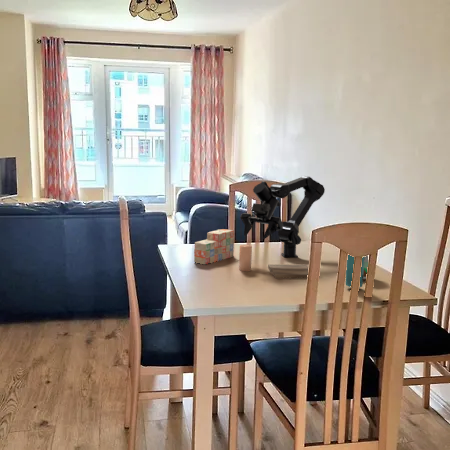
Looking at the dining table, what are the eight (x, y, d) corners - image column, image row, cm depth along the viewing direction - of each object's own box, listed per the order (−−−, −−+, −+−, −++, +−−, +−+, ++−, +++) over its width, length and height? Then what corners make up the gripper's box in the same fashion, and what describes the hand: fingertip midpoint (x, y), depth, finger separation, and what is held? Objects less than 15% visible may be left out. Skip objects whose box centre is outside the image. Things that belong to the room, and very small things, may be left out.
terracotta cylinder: (238, 268, 220) (238, 244, 218) (250, 268, 220) (250, 244, 219) (239, 271, 215) (240, 247, 213) (252, 271, 215) (252, 247, 214)
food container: (375, 283, 201) (376, 257, 200) (358, 281, 203) (360, 256, 201) (372, 274, 213) (374, 250, 211) (357, 273, 214) (358, 249, 213)
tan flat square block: (268, 268, 221) (268, 264, 220) (305, 267, 222) (305, 264, 222) (275, 278, 205) (275, 274, 205) (315, 278, 207) (316, 274, 206)
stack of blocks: (205, 265, 223) (205, 237, 221) (193, 263, 227) (194, 235, 225) (233, 256, 241) (234, 229, 238) (222, 254, 244) (222, 228, 242)
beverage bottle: (351, 292, 189) (355, 237, 185) (340, 287, 195) (343, 234, 191) (366, 290, 191) (370, 236, 188) (355, 285, 197) (358, 233, 194)
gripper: (243, 194, 227) (228, 223, 220) (281, 198, 217) (267, 228, 210) (251, 210, 235) (238, 238, 228) (289, 214, 225) (276, 244, 218)
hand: (254, 237), depth 221 cm, fingers open, 9 cm apart
